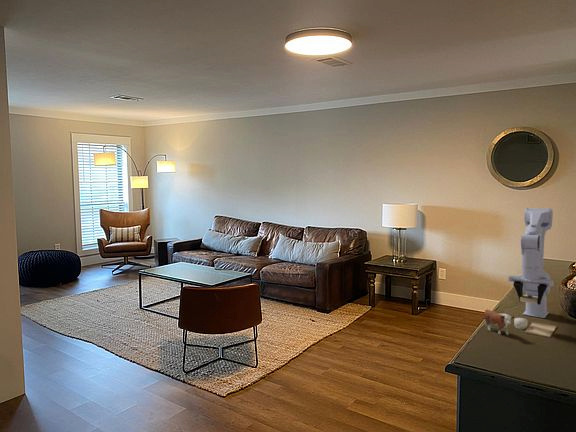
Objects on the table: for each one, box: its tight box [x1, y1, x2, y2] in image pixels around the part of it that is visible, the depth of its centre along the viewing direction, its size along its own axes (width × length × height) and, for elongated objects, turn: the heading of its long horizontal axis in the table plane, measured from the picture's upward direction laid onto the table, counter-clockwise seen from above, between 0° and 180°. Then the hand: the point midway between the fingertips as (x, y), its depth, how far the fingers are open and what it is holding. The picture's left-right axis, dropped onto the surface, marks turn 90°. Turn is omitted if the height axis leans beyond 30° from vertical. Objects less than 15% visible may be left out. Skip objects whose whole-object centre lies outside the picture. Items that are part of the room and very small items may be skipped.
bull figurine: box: [483, 309, 515, 336], centre depth 160 cm, size 4×13×8 cm, turn 16°
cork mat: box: [524, 321, 558, 339], centre depth 162 cm, size 14×8×1 cm, turn 140°
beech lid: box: [520, 294, 538, 304], centre depth 163 cm, size 6×6×2 cm
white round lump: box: [513, 317, 528, 330], centre depth 166 cm, size 4×4×3 cm
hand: (529, 302), depth 164 cm, fingers closed on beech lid, 5 cm apart
